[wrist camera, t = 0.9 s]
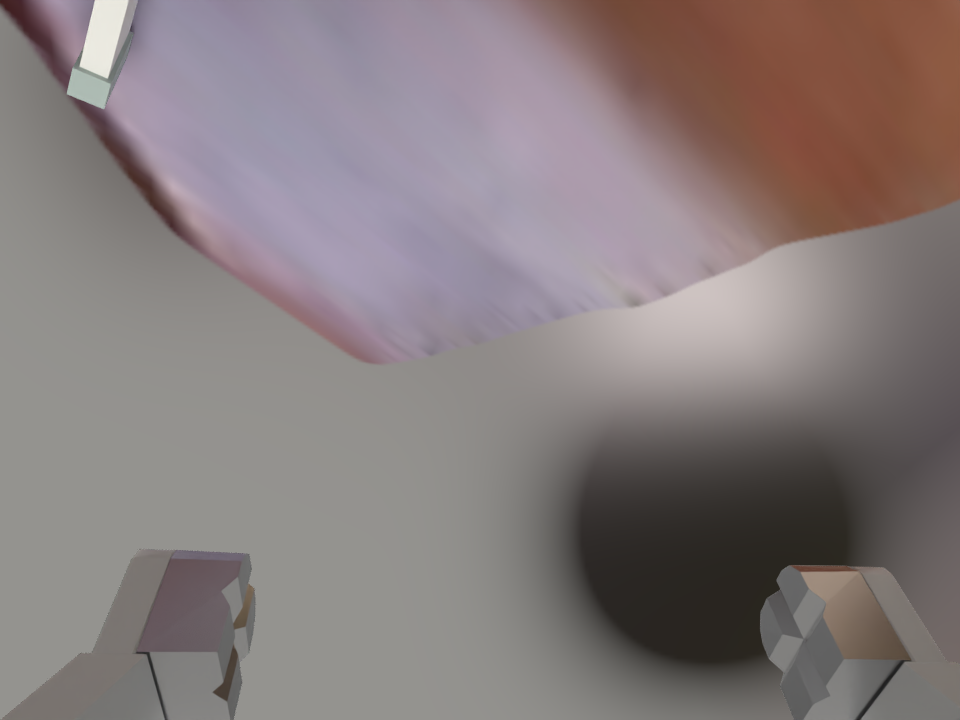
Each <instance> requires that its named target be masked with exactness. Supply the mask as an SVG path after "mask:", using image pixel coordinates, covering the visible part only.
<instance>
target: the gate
mask: <svg viewBox="0 0 960 720" xmlns="http://www.w3.org/2000/svg"><path fill="white" fill-rule="evenodd" d="M137 3H138V0H95V2H94V7H93V11H92V15H91V19H90V24H89V28H88V32H87V36H86V41H85V45H84V48H83V50H82V51H81V53H80V55H79V57H78V59H77V61H76V63H75V65H74V67H73V69H72V73H71V78H70V82H69V86H68V91H67V94H68V95H70V96H73V97H75V98H78V99H80V100H83V101H85V102H88V103H90V104H92V105H95V106H97V107H100V108H102V109H104V108H105V106H106V104H107V102H108V99H109V97H110V95H111V92H112V90H113V88H114V86H115V83H116V81H117V79H118V77H119V74H120V72H121V70H122V68H123V65H124V63H125V61H126V58H127V56H128V52H129V48H130V45H131V41H132V38H133V34H134V33H132V32H130V28H131V24H132V21H133V17H134V13H135V10H136V6H137Z"/></svg>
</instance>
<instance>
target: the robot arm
mask: <svg viewBox="0 0 960 720" xmlns="http://www.w3.org/2000/svg"><path fill="white" fill-rule="evenodd" d="M251 570H252V567H251V561H250V556H249V554H243V553H224V552H223V553H222V552H204V551H183V550H155V549H139V551H138V552H137V553H136V554H135V555H134V557H133V558H132V559H131V561H130V564H129V566H128V568H127V570H126V573H125V575H124V578H123V580H122V582H121V585H120V587H119V590H118V592H117V594H116V597H115V599H114V601H113V604H112V606H111V608H110V611H109V613H108V615H107V618H106V620H105V622H104V625H103V627H102V630H101V632H100V634H99V637H98V639H97V641H96V644H95V646H94V648H93V651H92V653H80V654H79V655H77V657H75V658H74V659H73V660H71V661H70V662H69V663H68V664H67V665H66V666H64V667H63V668H62V669H61V670H59V671H58V672H57V673H56V674H55V675H53V676H52V677H51V678H50V679H49V680H48V681H46V682H45V683H44V684H43V685H42V686H40V687H39V688H38V689H37V690H36V691H34V692H33V693H32V694H31V695H30V696H28V697H27V698H26V699H25V700H24V701H22V702H21V703H20V704H19V705H18V706H16V707H15V708H14V709H13V710H12V711H10V712H9V713H8V714H7V715H6V716H5V717H3V718H2V719H1V720H234V716H235V711H236V707H237V703H238V698H239V694H240V690H241V686H242V677H241V671H240V661H242V659H243V658H245V657H246V656H247V655H248V653H249V651H250V646H251V641H252V636H253V630H254V622H255V605H256V604H255V603H256V602H255V590H254V588H253V587H252V586H251V585H250V584H249V583H248V582H249V578H250V574H251ZM777 582H778V584H779V586H780V589H781V590H780V591H778V592H776V593H775V594H773V595H771V596H770V597H768V598H767V600H766V602H765V604H764V606H763V609H762V611H761V618H760V631H761V636H762V641H763V645H764V647H765V650H766V653H767V655H768V658H769V659H770V660H771V661H772V662H773V663H774V664H775V665H776V666H777V667H779V668H780V669H781V670H782V671H783V672H784V674H783V678H782V681H781V685H780V687H781V690H782V692H783V694H784V697H785V699H786V701H787V704H788V706H789V709H790V711H791V714H792V716H793V718H794V720H960V665H959V664H958V663H957V662H947V661H946V659H945V658H944V656H943V654H942V653H941V651H940V650H939V648H938V647H937V645H936V644H935V642H934V640H933V639H932V637H931V636H930V634H929V632H928V631H927V629H926V627H925V626H924V624H923V623H922V621H921V620H920V618H919V616H918V615H917V613H916V612H915V610H914V609H913V607H912V605H911V604H910V602H909V601H908V599H907V597H906V596H905V594H904V593H903V591H902V589H901V588H900V586H899V585H898V583H897V582H896V580H895V578H894V577H893V576H892V574H891V573H890V572H888V571H887V570H886V569H885V568H881V567H880V568H879V567H848V566H802V565H800V566H799V565H790V566H788V567H786V568H785V569H783V570H782V571H781V573H780V575H779V577H778V579H777Z"/></svg>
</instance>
